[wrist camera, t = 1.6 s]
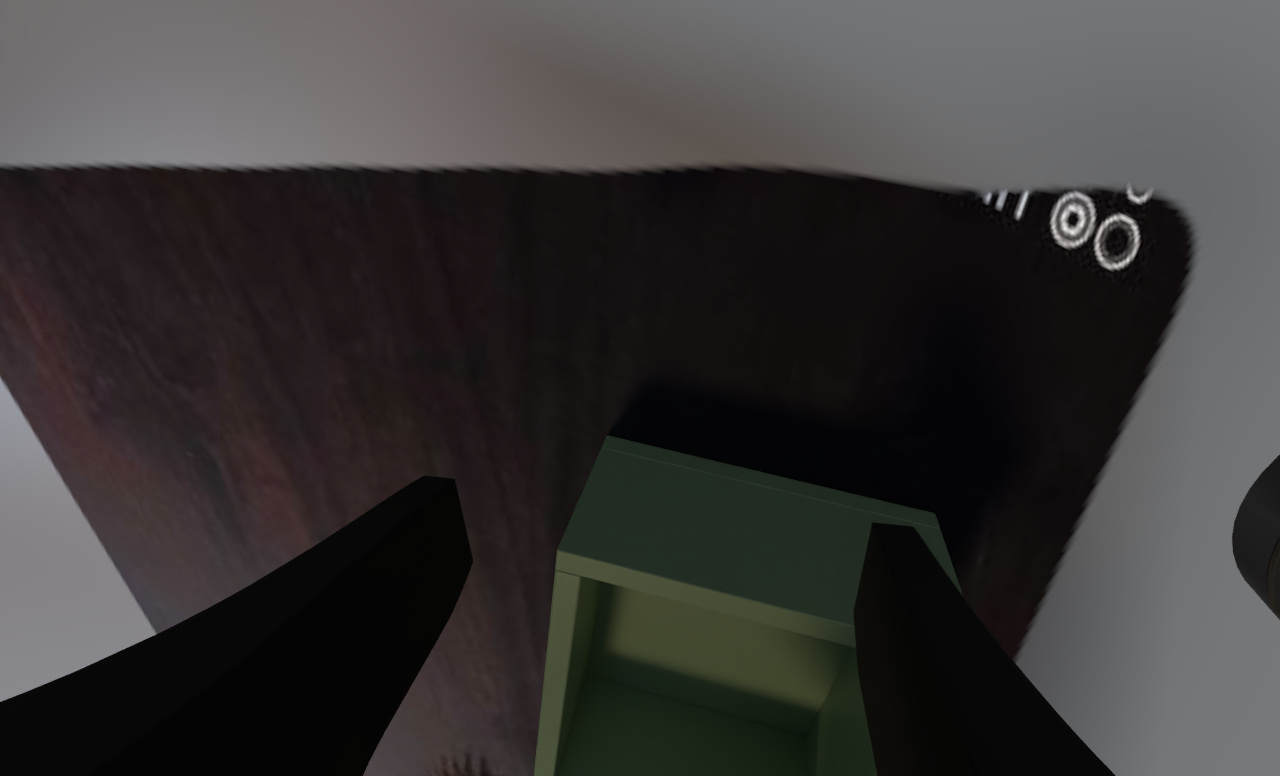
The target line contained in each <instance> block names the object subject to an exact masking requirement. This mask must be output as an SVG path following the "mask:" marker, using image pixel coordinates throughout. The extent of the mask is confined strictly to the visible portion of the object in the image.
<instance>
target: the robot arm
mask: <svg viewBox="0 0 1280 776" xmlns="http://www.w3.org/2000/svg"><path fill="white" fill-rule="evenodd" d="M472 564H473V558H472V554H471V549H470V545H469V541H468V536H467V532H466V527H465V523H464V518H463V514H462V509H461V505H460V500H459V496H458V492H457V487H456V483H455V479H451V478H441V477H432V476H423V477H421V478H419V479H417V480H416V481H414V482H412V483H411V484H409V485H407V486H406V487H404V488H403V489H401V490H400V491H398V492H396V493H395V494H393V495H392V496H390V497H389V498H387V499H386V500H384V501H383V502H381V503H380V504H378V505H377V506H375V507H374V508H372V509H371V510H369V511H368V512H366V513H365V514H363V515H362V516H360V517H358V518H357V519H355V520H354V521H352V522H351V523H349V524H348V525H346V526H345V527H343V528H342V529H340V530H339V531H337V532H335V533H334V534H332V535H331V536H329V537H328V538H326V539H325V540H323V541H322V542H320V543H319V544H317V545H315V546H314V547H312V548H311V549H309V550H307V551H306V552H304V553H302V554H301V555H299V556H297V557H296V558H294V559H293V560H291V561H289V562H288V563H286V564H284V565H283V566H281V567H279V568H278V569H276V570H274V571H273V572H271V573H269V574H268V575H266V576H264V577H263V578H261V579H259V580H258V581H256V582H254V583H253V584H251V585H249V586H248V587H246V588H244V589H242V590H241V591H239V592H237V593H235V594H234V595H232V596H230V597H228V598H226V599H224V600H223V601H221V602H219V603H217V604H215V605H213V606H212V607H210V608H208V609H206V610H204V611H202V612H200V613H198V614H196V615H194V616H192V617H190V618H188V619H186V620H184V621H183V622H181V623H179V624H177V625H175V626H173V627H171V628H169V629H167V630H165V631H163V632H161V633H159V634H156V635H155V636H152V637H150V638H148V639H146V640H143V641H141V642H139V643H137V644H135V645H133V646H130V647H128V648H126V649H124V650H122V651H119V652H117V653H115V654H113V655H111V656H109V657H106V658H104V659H102V660H100V661H98V662H96V663H93V664H91V665H89V666H87V667H85V668H82V669H80V670H78V671H75V672H74V673H71V674H69V675H66V676H64V677H61V678H59V679H56V680H54V681H52V682H49V683H47V684H44V685H42V686H40V687H37V688H35V689H32V690H30V691H27V692H25V693H23V694H20V695H17V696H15V697H12V698H10V699H7V700H4V701H2V702H0V776H363V774H364V772H365V770H366V767H367V765H368V763H369V761H370V759H371V757H372V755H373V753H374V751H375V749H376V747H377V746H378V744H379V742H380V740H381V738H382V736H383V734H384V732H385V730H386V729H387V727H388V725H389V723H390V722H391V720H392V718H393V716H394V715H395V713H396V711H397V710H398V708H399V706H400V704H401V703H402V701H403V699H404V697H405V696H406V694H407V692H408V690H409V689H410V687H411V685H412V683H413V682H414V680H415V678H416V676H417V675H418V673H419V671H420V669H421V668H422V666H423V664H424V663H425V661H426V659H427V657H428V656H429V654H430V652H431V650H432V648H433V647H434V645H435V643H436V641H437V640H438V638H439V636H440V634H441V633H442V631H443V629H444V627H445V625H446V624H447V622H448V620H449V618H450V616H451V614H452V612H453V610H454V608H455V605H456V603H457V601H458V598H459V596H460V594H461V591H462V589H463V587H464V584H465V581H466V579H467V576H468V574H469V571H470V569H471V566H472ZM853 612H854V626H855V641H856V654H857V666H858V676H859V681H860V687H861V692H862V698H863V703H864V708H865V714H866V719H867V724H868V730H869V735H870V740H871V745H872V750H873V756H874V761H875V766H876V771H877V776H1115V775H1114V774H1113V773H1112V772H1111V770H1110V769H1109V768H1108V767H1107V766H1106V765H1105V764H1104V763H1103V762H1102V761H1101V760H1100V759H1099V758H1098V757H1097V756H1096V755H1095V754H1094V753H1093V752H1092V751H1091V750H1090V748H1088V746H1087V745H1086V744H1085V743H1084V742H1083V741H1082V740H1081V739H1080V738H1079V736H1077V735H1076V733H1075V732H1074V731H1073V730H1072V729H1071V728H1070V727H1069V725H1068V724H1067V723H1066V722H1065V721H1064V720H1063V719H1062V718H1061V717H1060V715H1059V714H1058V713H1057V712H1056V711H1055V710H1054V708H1053V707H1052V706H1051V705H1050V704H1049V703H1048V701H1046V699H1045V698H1044V697H1043V696H1042V695H1041V693H1040V692H1039V691H1038V690H1037V689H1036V688H1035V686H1034V685H1033V684H1032V683H1031V682H1030V681H1029V679H1028V678H1027V677H1026V676H1025V675H1024V673H1023V672H1022V671H1021V670H1020V668H1019V667H1018V666H1017V665H1016V664H1015V662H1014V661H1013V660H1012V659H1011V657H1010V656H1009V655H1008V654H1007V652H1006V651H1005V650H1004V649H1003V647H1002V646H1001V645H1000V644H999V642H998V641H997V640H996V638H995V637H994V636H993V635H992V633H991V632H990V631H989V629H988V628H987V627H986V626H985V624H984V623H983V622H982V621H981V619H980V618H979V617H978V615H977V614H976V613H975V611H974V610H973V609H972V607H971V606H970V605H969V603H968V602H967V601H966V599H965V598H964V597H963V595H962V594H961V592H960V591H959V590H958V588H957V587H956V586H955V584H954V583H953V581H952V580H951V579H950V577H949V576H948V574H947V573H946V572H945V570H944V569H943V567H942V566H941V565H940V563H939V562H938V560H937V559H936V557H935V556H934V555H933V553H932V552H931V550H930V549H929V547H928V546H927V544H926V543H925V541H924V540H923V539H922V537H921V536H920V534H919V533H918V532H917V531H916V529H915V528H914V527H913V526H903V525H894V524H884V523H875V522H872V526H871V531H870V535H869V540H868V545H867V549H866V554H865V559H864V564H863V568H862V573H861V578H860V583H859V587H858V592H857V597H856V601H855V606H854V611H853Z"/></svg>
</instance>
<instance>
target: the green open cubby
mask: <svg viewBox="0 0 1280 776" xmlns="http://www.w3.org/2000/svg"><path fill="white" fill-rule="evenodd" d="M872 522H875V523H884V524H894V525H903V526H913V527H914V528H915V529H916V531H917V532H918V533H919V534H920V536H921V537H922V539H923V540H924V541H925V543H926V544H927V546H928V547H929V549H930V550H931V552H932V553H933V555H934V556H935V557H936V559H937V560H938V562H939V563H940V565H941V566H942V567H943V569H944V570H945V572H946V573H947V574H948V576H949V577H950V579H951V580H952V581H953V583H954V584H955V586H956V587H957V588H958V590H959V591H960V592H961V589H960V586H959V583H958V580H957V577H956V574H955V571H954V568H953V565H952V562H951V559H950V556H949V553H948V550H947V547H946V545H945V542H944V539H943V536H942V533H941V530H940V526H939V524H938V521H937V518H936V515H935V513H932V512H927V511H923V510H919V509H915V508H911V507H906V506H902V505H898V504H894V503H890V502H885V501H881V500H877V499H873V498H869V497H864V496H860V495H856V494H852V493H848V492H844V491H839V490H835V489H831V488H827V487H823V486H818V485H814V484H810V483H806V482H802V481H797V480H793V479H789V478H785V477H781V476H776V475H772V474H768V473H764V472H760V471H755V470H751V469H747V468H743V467H739V466H734V465H730V464H726V463H722V462H718V461H713V460H709V459H705V458H701V457H697V456H692V455H688V454H684V453H680V452H676V451H671V450H667V449H663V448H659V447H655V446H650V445H646V444H642V443H638V442H634V441H629V440H625V439H621V438H617V437H613V436H606V439H605V441H604V443H603V446H602V448H601V450H600V453H599V455H598V457H597V459H596V462H595V464H594V466H593V469H592V471H591V473H590V476H589V478H588V480H587V482H586V485H585V487H584V489H583V492H582V494H581V496H580V498H579V501H578V503H577V505H576V508H575V510H574V512H573V515H572V517H571V519H570V521H569V524H568V526H567V528H566V531H565V533H564V535H563V537H562V540H561V542H560V544H559V547H558V549H557V555H556V565H555V568H556V569H555V577H554V587H553V596H552V606H551V615H550V625H549V634H548V644H547V654H546V663H545V673H544V682H543V692H542V702H541V711H540V721H539V730H538V740H537V750H536V759H535V769H534V776H877V771H876V766H875V761H874V756H873V750H872V745H871V740H870V735H869V730H868V724H867V719H866V714H865V708H864V703H863V698H862V692H861V687H860V681H859V676H858V666H857V654H856V641H855V626H854V612H853V611H854V606H855V601H856V597H857V592H858V587H859V583H860V578H861V573H862V568H863V564H864V559H865V554H866V549H867V545H868V540H869V535H870V531H871V526H872ZM961 594H962V592H961Z"/></svg>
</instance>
